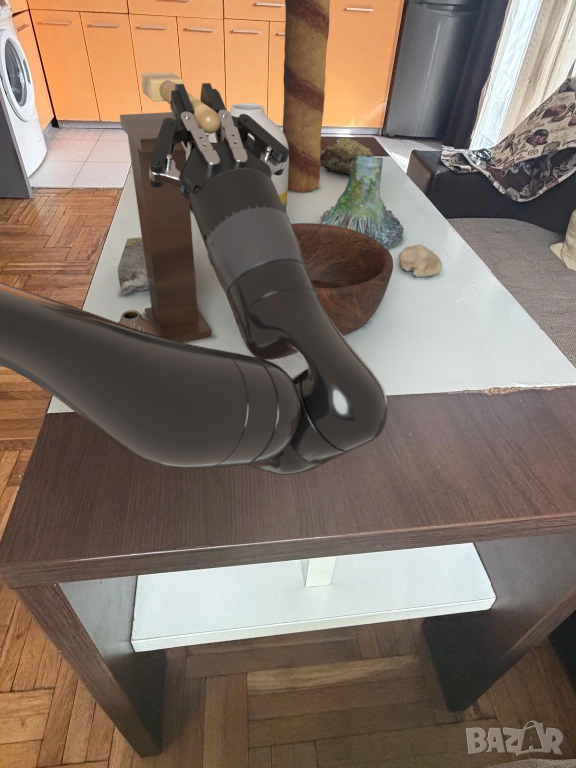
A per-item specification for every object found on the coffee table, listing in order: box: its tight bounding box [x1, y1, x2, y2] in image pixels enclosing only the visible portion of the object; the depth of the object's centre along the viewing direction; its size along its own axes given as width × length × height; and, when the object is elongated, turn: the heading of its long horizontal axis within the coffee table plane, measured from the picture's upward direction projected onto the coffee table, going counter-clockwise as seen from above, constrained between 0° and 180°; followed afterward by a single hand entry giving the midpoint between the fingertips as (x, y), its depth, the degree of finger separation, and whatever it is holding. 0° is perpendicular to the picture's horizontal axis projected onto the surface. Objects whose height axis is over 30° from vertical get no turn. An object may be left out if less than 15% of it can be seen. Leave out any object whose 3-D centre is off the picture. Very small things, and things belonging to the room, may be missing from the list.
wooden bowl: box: [291, 222, 394, 336], centre depth 87 cm, size 25×25×10 cm
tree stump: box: [319, 156, 404, 250], centre depth 114 cm, size 18×20×18 cm
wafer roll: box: [282, 0, 331, 193], centre depth 124 cm, size 10×11×45 cm
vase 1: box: [117, 309, 159, 336], centre depth 73 cm, size 7×7×9 cm
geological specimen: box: [116, 236, 149, 296], centre depth 95 cm, size 11×6×15 cm
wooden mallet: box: [140, 71, 220, 135], centre depth 53 cm, size 20×4×2 cm, turn 25°
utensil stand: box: [119, 111, 212, 343], centre depth 74 cm, size 12×8×30 cm, turn 25°
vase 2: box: [207, 102, 289, 212], centre depth 109 cm, size 17×17×24 cm
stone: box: [398, 244, 443, 278], centre depth 102 cm, size 7×6×8 cm
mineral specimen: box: [320, 137, 375, 176], centre depth 145 cm, size 14×13×10 cm
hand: (191, 92), depth 50 cm, fingers closed on wooden mallet, 2 cm apart
